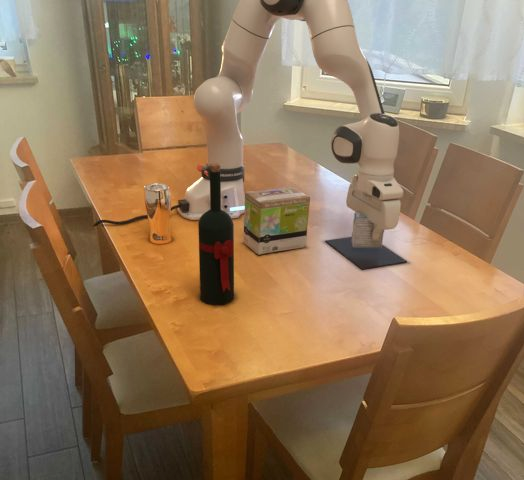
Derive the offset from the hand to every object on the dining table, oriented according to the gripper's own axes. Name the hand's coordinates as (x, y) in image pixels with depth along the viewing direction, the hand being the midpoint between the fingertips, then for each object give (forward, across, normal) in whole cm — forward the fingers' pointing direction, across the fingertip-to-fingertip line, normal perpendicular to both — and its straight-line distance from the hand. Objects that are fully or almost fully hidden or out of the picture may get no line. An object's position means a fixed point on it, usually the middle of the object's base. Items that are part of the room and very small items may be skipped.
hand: (367, 233), depth 148 cm
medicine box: (+4, 0, 0) cm, 4 cm away
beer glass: (+5, -26, -51) cm, 57 cm away
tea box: (+5, -12, -22) cm, 26 cm away
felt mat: (+5, 0, 0) cm, 5 cm away
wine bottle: (+5, +13, -47) cm, 49 cm away
